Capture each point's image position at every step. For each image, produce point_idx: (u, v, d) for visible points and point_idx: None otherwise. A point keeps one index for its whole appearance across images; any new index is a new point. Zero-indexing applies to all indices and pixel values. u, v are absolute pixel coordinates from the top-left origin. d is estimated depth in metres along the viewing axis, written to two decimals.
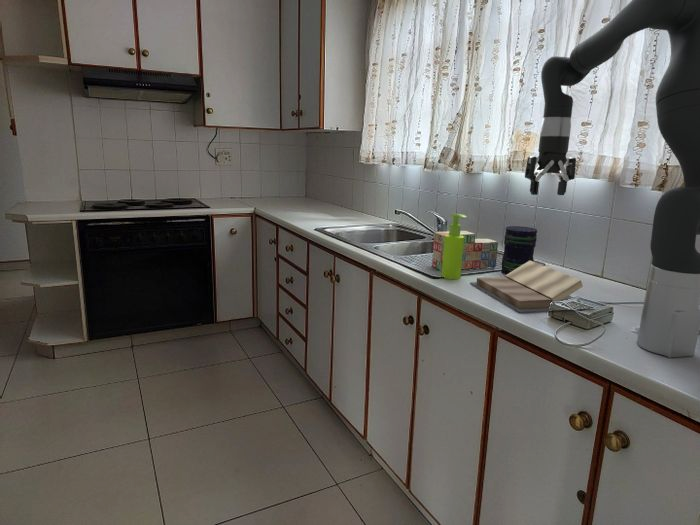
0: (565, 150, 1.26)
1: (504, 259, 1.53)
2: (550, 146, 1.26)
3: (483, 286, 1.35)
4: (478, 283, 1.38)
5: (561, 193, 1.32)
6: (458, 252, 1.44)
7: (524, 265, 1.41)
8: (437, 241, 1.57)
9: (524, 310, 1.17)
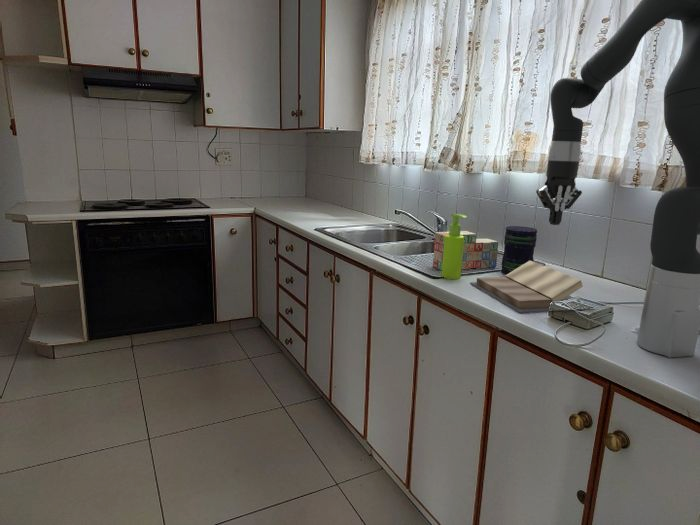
0: (574, 175, 1.22)
1: (504, 259, 1.53)
2: (559, 171, 1.21)
3: (483, 286, 1.35)
4: (478, 283, 1.38)
5: None
6: (458, 252, 1.44)
7: (524, 265, 1.41)
8: (438, 241, 1.56)
9: (524, 310, 1.17)
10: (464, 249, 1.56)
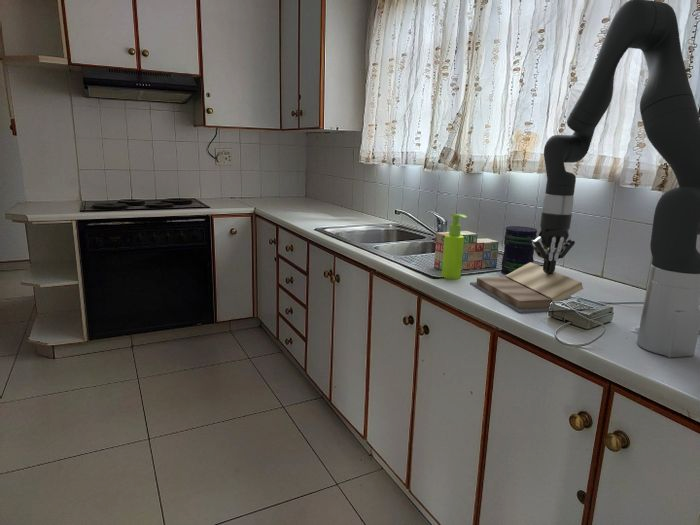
0: (567, 228, 1.25)
1: (504, 259, 1.53)
2: (552, 224, 1.25)
3: (483, 286, 1.35)
4: (478, 283, 1.38)
5: None
6: (458, 252, 1.44)
7: (524, 266, 1.41)
8: (440, 242, 1.56)
9: (524, 310, 1.17)
10: (465, 249, 1.56)
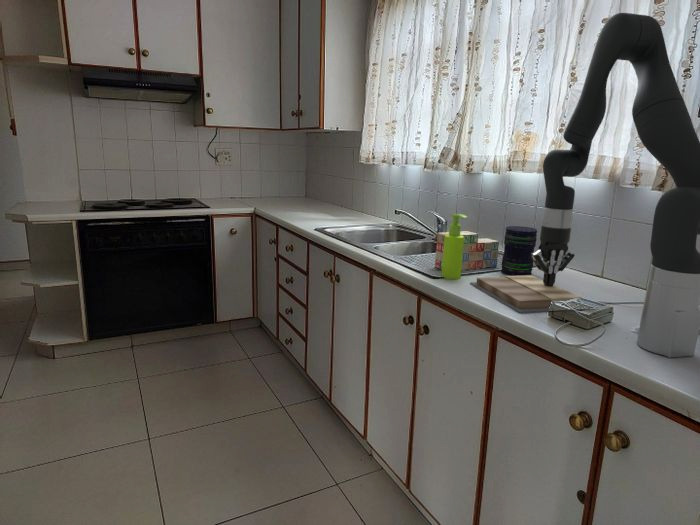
0: (567, 241, 1.26)
1: (504, 259, 1.53)
2: (552, 238, 1.26)
3: (483, 286, 1.35)
4: (478, 283, 1.38)
5: None
6: (458, 252, 1.44)
7: (525, 276, 1.42)
8: (441, 242, 1.56)
9: (524, 310, 1.17)
10: (466, 249, 1.56)
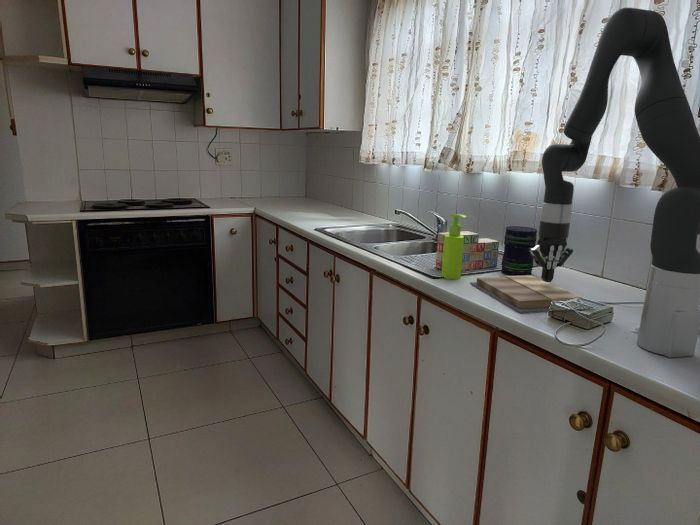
0: (565, 236, 1.25)
1: (504, 259, 1.53)
2: (551, 233, 1.25)
3: (483, 286, 1.35)
4: (478, 283, 1.38)
5: None
6: (458, 252, 1.44)
7: (525, 276, 1.42)
8: (442, 242, 1.55)
9: (524, 310, 1.17)
10: (467, 249, 1.56)
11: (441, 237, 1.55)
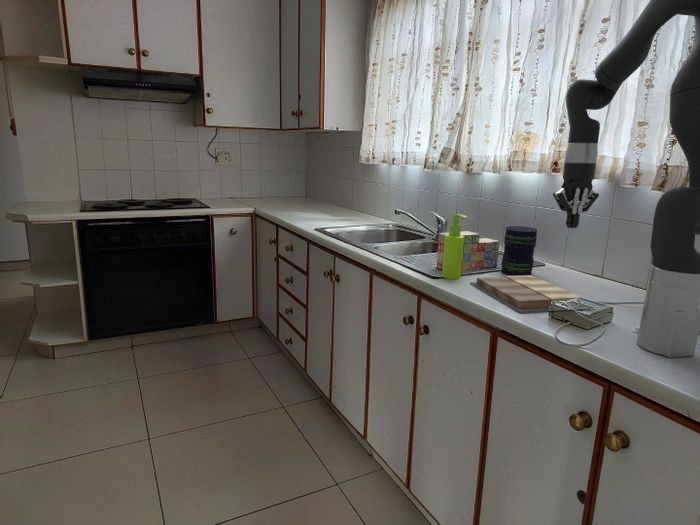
0: (592, 177, 1.20)
1: (504, 259, 1.53)
2: (577, 173, 1.19)
3: (483, 286, 1.35)
4: (478, 283, 1.38)
5: None
6: (458, 252, 1.44)
7: (525, 276, 1.42)
8: (443, 242, 1.55)
9: (524, 310, 1.17)
10: (468, 249, 1.56)
11: (442, 237, 1.55)
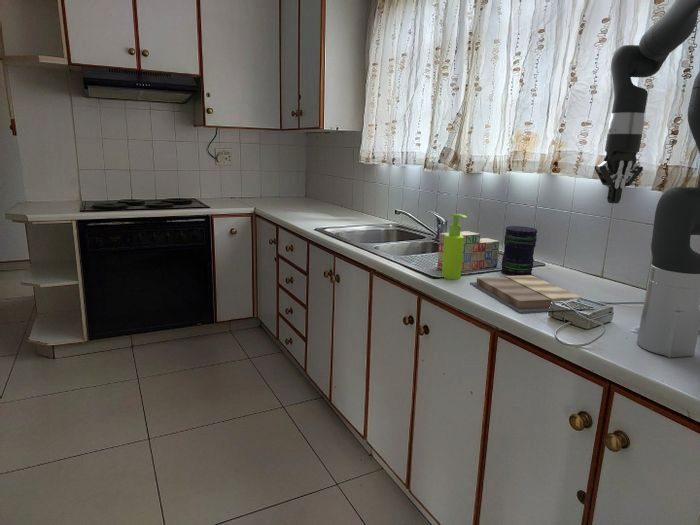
0: (637, 149, 1.14)
1: (504, 259, 1.53)
2: (621, 145, 1.13)
3: (483, 286, 1.35)
4: (478, 283, 1.38)
5: None
6: (458, 252, 1.44)
7: (525, 276, 1.42)
8: None
9: (524, 310, 1.17)
10: (469, 249, 1.56)
11: (443, 237, 1.55)
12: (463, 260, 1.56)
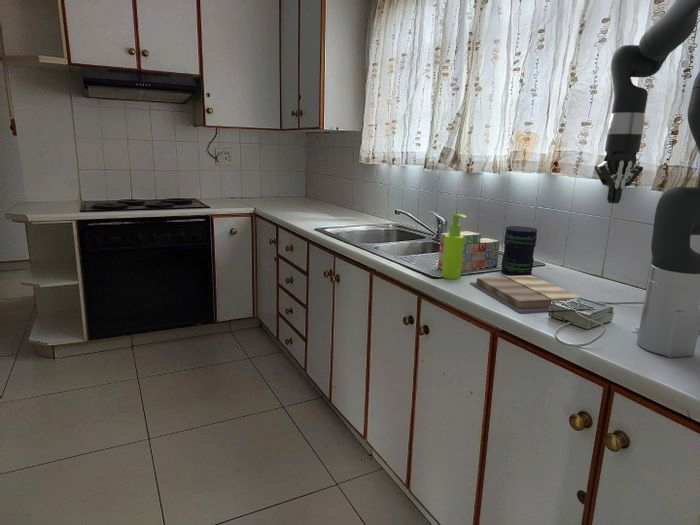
0: (637, 149, 1.14)
1: (504, 259, 1.53)
2: (621, 145, 1.13)
3: (483, 286, 1.35)
4: (478, 283, 1.38)
5: None
6: (458, 252, 1.44)
7: (525, 276, 1.42)
8: None
9: (524, 310, 1.17)
10: (470, 250, 1.56)
11: (444, 238, 1.55)
12: (464, 260, 1.56)
